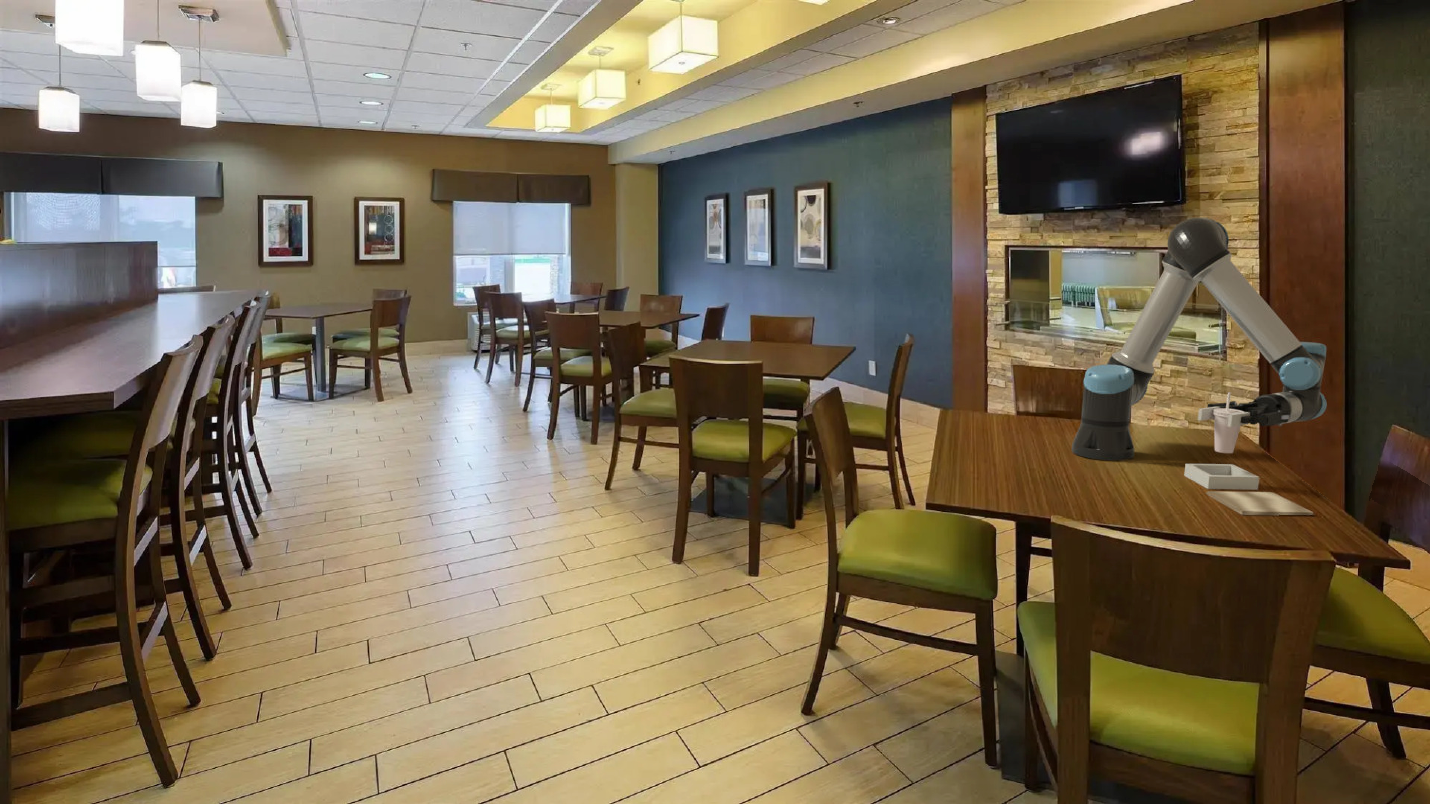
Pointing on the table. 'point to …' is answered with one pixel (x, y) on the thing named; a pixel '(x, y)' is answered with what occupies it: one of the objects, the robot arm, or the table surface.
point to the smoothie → (1225, 429)
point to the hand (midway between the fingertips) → (1214, 417)
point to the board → (1258, 503)
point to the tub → (1221, 476)
